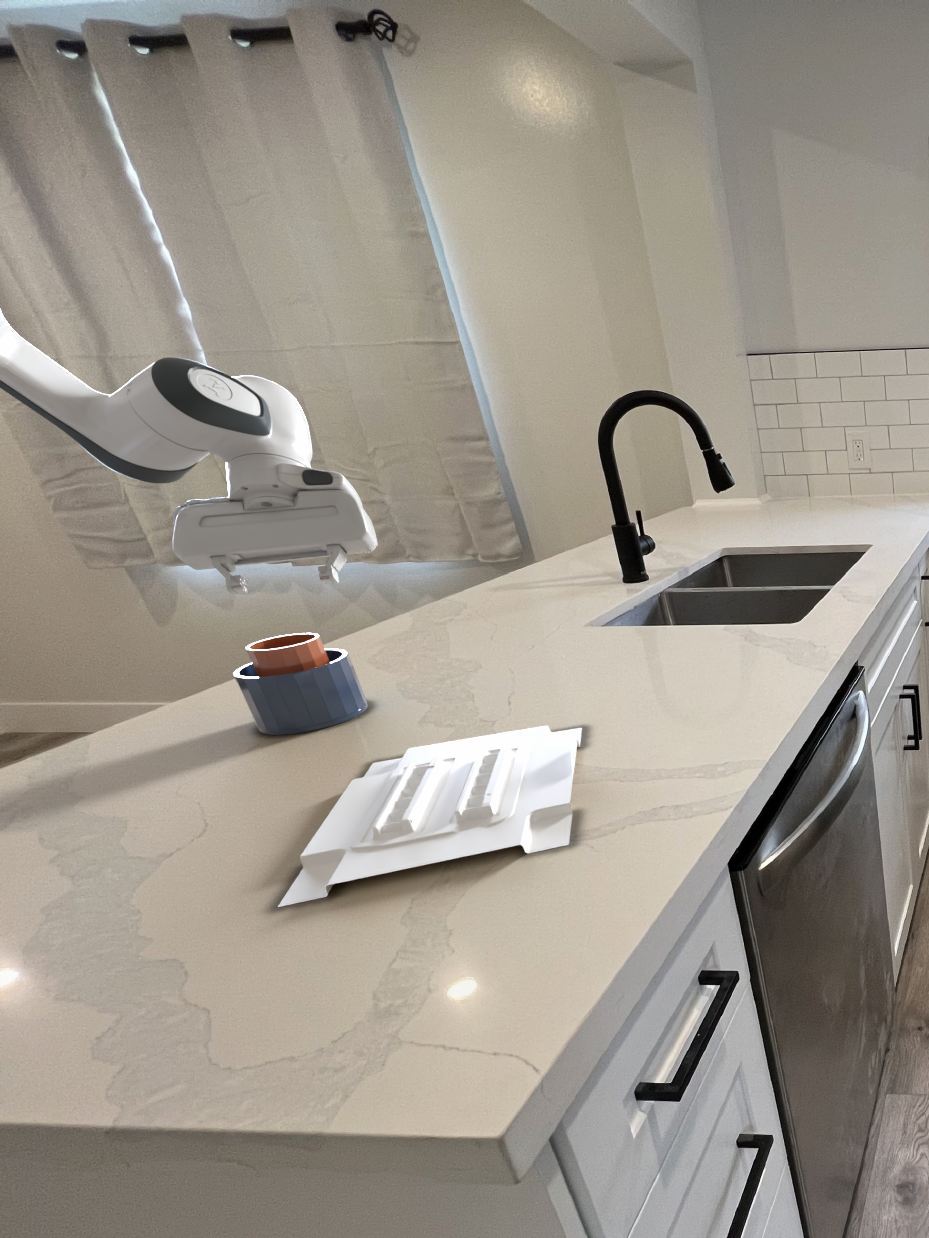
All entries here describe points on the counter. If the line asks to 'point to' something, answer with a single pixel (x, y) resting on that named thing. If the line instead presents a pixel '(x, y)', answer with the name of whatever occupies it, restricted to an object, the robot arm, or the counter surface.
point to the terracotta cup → (287, 654)
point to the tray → (445, 807)
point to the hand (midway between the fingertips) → (284, 586)
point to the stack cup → (303, 696)
